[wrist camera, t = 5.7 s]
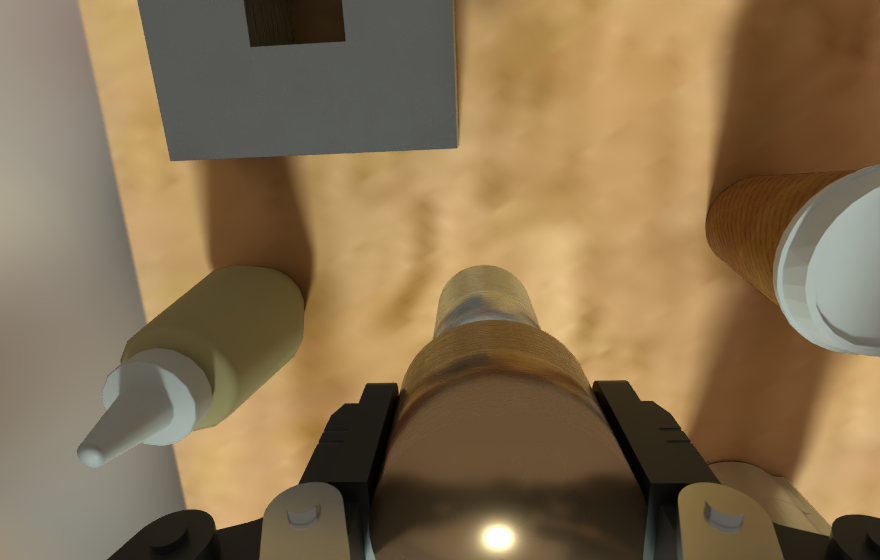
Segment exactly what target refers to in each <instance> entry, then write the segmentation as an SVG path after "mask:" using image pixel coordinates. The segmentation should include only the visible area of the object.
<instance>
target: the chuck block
mask: <svg viewBox="0 0 880 560" xmlns="http://www.w3.org/2000/svg"><path fill="white" fill-rule="evenodd" d="M137 1H138V6H139V10H140V15H141V20H142V25H143V30H144V35H145V40H146V44H147V49H148V54H149V59H150V64H151V69H152V73H153V78H154V83H155V88H156V93H157V98H158V103H159V107H160V112H161V117H162V122H163V127H164V132H165V137H166V141H167V146H168V151H169V156H170V161H185V160H208V159H230V158H252V157H274V156H297V155H319V154H341V153H363V152H386V151H408V150H430V149H452V148H458V146H459V129H458V98H457V66H456V35H455V4H454V0H342V7H343V17H344V28H345V39H346V41H344V42H328V43H311V44H294V41H293V33H292V25H291V17H290V9H289V1H288V0H137Z"/></svg>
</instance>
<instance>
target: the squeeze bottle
mask: <svg viewBox="0 0 880 560" xmlns="http://www.w3.org/2000/svg"><path fill="white" fill-rule="evenodd" d="M303 329H304V299H303V297H302V294H301V292H300V289H299V287H298V286H297V285H296V284H295V283H294V282H293V281H292V279H291V278H290V277H289V276H287V275H286V274H284V273H282V272H280V271H278V270H276V269H273V268H265V267H256V266H243V265H232V266H229V267H225V268H222V269H218V270H214V271H213V272H211V273H210V274H209V275H208V276H206V277H205V278H204V279H203V280H201V281H200V282H199V283H198V284H196V285H195V286H194V287H193V288H192V289H190V290H189V291H188V292H187V293H185V294H184V295H183V296H182V297H180V298H179V299H178V300H177V301H175V302H174V303H173V304H172V305H171V306H169V307H168V308H167V309H166V310H164V311H163V312H162V313H161V314H159V315H158V316H157V317H156V318H154V319H153V320H152V321H151V322H149V323H148V324H147V325H146V326H145V327H143V328H142V329H141V330H140V331H139V332H138V333H136V334H135V335H134V336H133V337H132V338H131V339H130V340H128V341H127V344H126V347H125V349H124V352H123V355H122V357H121V365H120V366H119V367H117V368H116V369H115V370H114V371H113V372H111V373H110V374H109V375H108V376H107V379H106V382H105V385H104V387H103V390H102V393H103V401H104V408H105V410H106V412H105V414H104V415H103V416H102V417H101V419H100V420H99V421H98V423H97V424H96V425H95V427H94V428H93V429H92V431H91V432H90V433H89V434H88V435H87V437H86V438H85V439H84V441H83V442H82V443H81V444H80V446H79V447H78V450H77V455H78V457H79V459H80V461H82V462H83V463H84V464H85V465H87V466H90V467H99V466H101V465H103V464H105V463H106V462H108V461H110V460H112V459H113V458H115V457H117V456H119V455H120V454H122V453H123V452H125V451H127V450H129V449H130V448H132V447H134V446H136V445H137V444H139V443H144V444H152V445H159V446H164V445H168V444H173V443H177V442H179V441H181V440H182V439H183V438H184V437H186V436H187V435H188V434H190V433H191V432H192V431H196V430H201V429H205V428H209V427H214V426H216V425H217V424H219V423H220V422H221V421H223V420H224V419H225V418H227V417H228V416H229V415H231V414H232V413H233V412H234V411H235V410H236V409H237V408H238V407H239V406H240V405H241V404H243V403H244V402H245V401H246V400H247V399H248V398H249V397H250V396H251V395H252V394H253V393H255V392H256V391H257V390H258V389H259V388H260V387H261V386H262V385H263V384H264V383H265V382H267V381H268V380H269V379H270V378H271V377H272V376H273V375H274V374H275V373H276V372H277V371H279V370H280V369H281V368H282V367H283V366H284V365H285V364H286V363H287V362H288V361H289V360H291V359H292V358H293V357H294V356H295V354H296V352H297V350H298V348H299V346H300V344H301V342H302V340H303Z"/></svg>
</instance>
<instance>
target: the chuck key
mask: <svg viewBox="0 0 880 560" xmlns="http://www.w3.org/2000/svg"><path fill="white" fill-rule="evenodd" d="M647 510H648V508H647V504H646V501H645V498H644V495H643V492H642V490H641V488H640V486H639V484H638V482H637V480H636V478H635V476H634V474H633V472H632V470H631V468H630V466H629V464H628V462H627V460H626V458H625V455H624V453H623V451H622V449H621V447H620V445H619V443H618V441H617V439H616V437H615V435H614V433H613V431H612V429H611V427H610V425H609V423H608V421H607V419H606V417H605V415H604V413H603V410H602V408H601V406H600V404H599V402H598V400H597V398H596V396H595V394H594V392H593V390H592V388H591V386H590V384H589V382H588V380H587V378H586V376H585V374H584V372H583V370H582V368H581V366H580V364H579V362H578V361H577V360H576V358H575V357H574V355H573V354H572V353H571V352H570V351H569V350H568V349H567V348H566V347H565V346H564V345H563V344H562V343H561V342H559V341H558V340H557V339H556V338H554V337H553V336H551V335H549V334H548V333H546V332H544V331H542V330H541V328H540V325H539V322H538V320H537V317H536V314H535V312H534V309H533V307H532V304H531V301H530V299H529V296H528V293H527V291H526V289H525V287H524V286H523V284H522V283H521V281H520V280H519V279H518V278H517V277H515V276H514V275H513V274H512V273H510V272H508V271H507V270H504V269H502V268H499V267H496V266H490V265H480V266H474V267H470V268H467V269H465V270H463V271H461V272H459V273H457V274H456V275H455V276H454V277H452V278H451V279H450V280H449V281H448V283H447V284H446V285H445V287H444V289H443V291H442V293H441V295H440V299H439V304H438V311H437V317H436V323H435V329H434V336H433V340H432V341H431V342H430V343H428V344H427V345H426V346H425V347H424V348H423V349H422V350H421V351H420V352H419V353H418V354H417V356H416V357H415V358H414V360H413V361H412V363H411V364H410V366H409V368H408V370H407V372H406V374H405V376H404V380H403V383H402V386H401V390H400V394H399V398H398V402H397V406H396V410H395V414H394V417H393V421H392V425H391V429H390V433H389V437H388V441H387V445H386V449H385V453H384V457H383V461H382V465H381V469H380V472H379V476H378V480H377V484H376V488H375V492H374V496H373V500H372V504H371V509H370V517H369V536H370V541H371V546H372V550H373V553H374V556H375V559H376V560H642V558H643V548H644V539H645V529H646V520H647Z"/></svg>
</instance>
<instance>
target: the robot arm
mask: <svg viewBox="0 0 880 560" xmlns="http://www.w3.org/2000/svg"><path fill="white" fill-rule="evenodd" d="M592 390H593V392H594V394H595V396H596V398H597V400H598V402H599V404H600V406H601V408H602V410H603V413H604V415H605V417H606V419H607V421H608V423H609V425H610V427H611V429H612V431H613V433H614V435H615V437H616V439H617V441H618V443H619V445H620V447H621V449H622V451H623V453H624V455H625V458H626V460H627V462H628V464H629V466H630V468H631V470H632V472H633V474H634V476H635V478H636V480H637V482H638V484H639V486H640V488H641V490H642V492H643V495H644V498H645V501H646V504H647V508H648V510H647V520H646V529H645V539H644V548H643V558H642V560H880V518H876V517H872V516H866V515H844V516H841V517H839V518H837V519H836V520H835V521H834V522H833V524H832V527H831V526H830V525H829V524H828V523H827V521H826V520H825V519H824V518H823V517H822V516H821V515H820V514H819V513H818V512H817V511H816V510H815V508H814V507H813V506H812V505H811V504H810V503H809V502H808V501H807V500H806V499H805V498H804V497H803V496H802V494H801V493H800V492H799V491H798V490H797V489H796V488H795V487H794V486H793V485H792V484H791V483H790V481H789V480H788V479H787V478H786V477H775V476H772V475H770V474H768V473H767V472H765V471H764V470H762V469H761V468H759V467H756V466H754V465H751V464H748V463H742V462H720V463H714V464H710V465H707V463H706V462H705V461H704V459H703V458H702V457H701V455H700V454H699V452H698V451H697V450H696V448H695V447H694V445H693V444H690V440H689V439H688V437H687V436H686V434H685V433H684V432H683V431H681V427H680V426H679V425H678V423H677V422H676V421H675V419H674V418H673V416H672V415H671V414H670V413H669V412H667V411H666V410H665V409H663V408H662V407H660V406H659V405H657V404H656V403H654V402H653V401H640V399H639V397H638V396H637V394H636V393H635V391H634V390H633V388H632V387H631V385H630V384H629V382H628V381H626V380H616V381H594V383H593V387H592ZM398 398H399V392H398V386H397V383H367V384H366V386H365V388H364V391H363V393H362V396H361V399H360V401H359V403H351V404H344V405H343V406H342V407H341V408H339V409H338V410H337V411H336V412H335V413H334V414H332V415H331V417H330V419H329V421H328V423H327V425H326V427H325V429H324V433H323V434H322V436H321V438H320V440H319V444H318V445H317V446H316V448H315V450H314V452H313V455H312V457H311V459H310V461H309V463H308V465H307V467H306V469H305V471H304V473H303V476H302V478H301V480H300V482H299V484H298V485H296V486H294V487H291V488H289V489H287V490H285V491H284V492H282V493H281V494H279V495H278V496H277V497H276V498H274V499H273V500H272V502H271V503H270V504H269V505H268V507H267V508H266V510H265V513H264V517H263V518H260V519H258V520H255V521H251V522H248V523H244V524H240V525H236V526H231V527H227V528H223V529H219V530H216V526H215V522H214V520H213V518H212V517H211V515H210V514H208V513H207V512H204V511H201V510H182V511H178V512H174V513H171V514H168V515H165V516H163V517H161V518H159V519H157V520H155V521H153V522H152V523H150V524H149V525H147V526H146V527H144V528H143V529H142V530H140V531H139V532H138V533H137V534H136V535H135V536H134V537H132V538H131V539H130V540H129V541H128V542H127V543H126V544H124V545H123V546H122V547H121V548H120V549H119V550H118V551H117V552H115V553H114V554H113V555H112V556H111V557H110V558H109V559H107V560H376V559H375V556H374V553H373V550H372V546H371V541H370V536H369V517H370V509H371V504H372V500H373V496H374V492H375V488H376V484H377V480H378V476H379V472H380V469H381V465H382V461H383V457H384V453H385V449H386V445H387V441H388V437H389V433H390V429H391V425H392V421H393V417H394V414H395V410H396V406H397V402H398Z"/></svg>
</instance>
